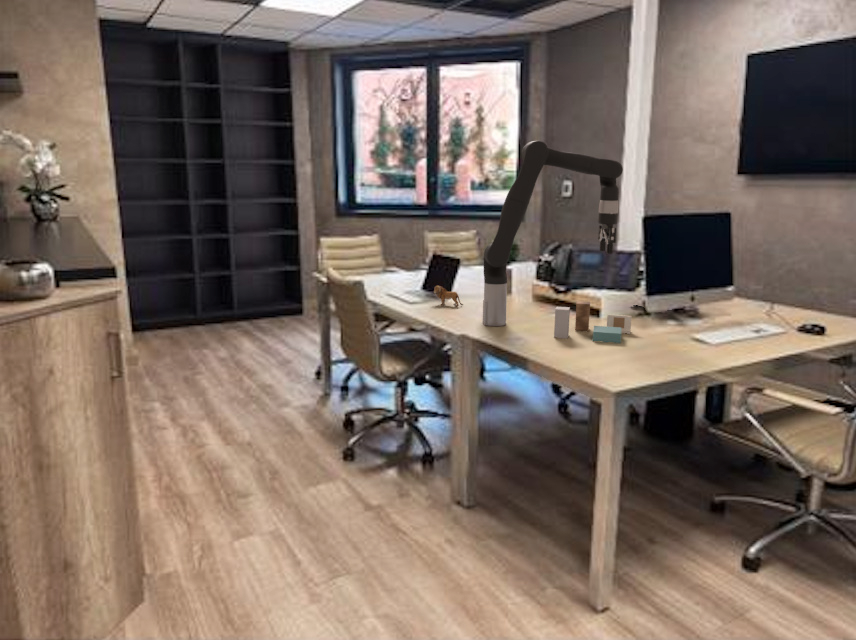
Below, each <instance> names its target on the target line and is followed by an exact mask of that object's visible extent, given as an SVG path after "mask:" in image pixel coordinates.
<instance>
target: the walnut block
mask: <svg viewBox="0 0 856 640" xmlns="http://www.w3.org/2000/svg"><path fill="white" fill-rule="evenodd" d="M590 312H591V301H586V300H585V301H581V300H580V301H579V300H577V301H576V305H575V324H574V325H575V327H574V329H575V330H577V331H576V332H586V331H588V332H589V330H588V329H590V328H589V327H590ZM575 330H574V331H575Z"/></svg>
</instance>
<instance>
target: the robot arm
mask: <svg viewBox="0 0 856 640" xmlns="http://www.w3.org/2000/svg"><path fill="white" fill-rule="evenodd" d="M521 157H522V160H523V162H522V165H521V168H520V170H519V173H518V175H517V177H516V179H515V180H514V182H513V184H512V185H511V187H510V188H509V190H508V193H507V194H506V198H505V200H504V202H503V205H502V208H501V212H500V218H499V224H498V228H497V232H496V234H495V237H494V239H493V241H492V242H491V243H489V244H488V245H486V247H485V248H484V250H483V251H484V252H483V283H484V284H483V286H484V287H483V300H482V323H483V325H484V326H490V327H502V326H505V325H507V299H508V298H507V297H508V294H507V293H508V274H507V263H508V261H509V259H510V257H511V256H510V255H511V252H512V248H513V244H514V241H515V238H516V235H517V232H518V230H519V229H520V226H521V224H522V222H523V219H524V216H525V214H526V212H527V209H528V207H529V204H530V201H531V199H532V196H533V193H534V190H535V188H536V187H535V186H536V183H537V180H538V177H539V175H540V174H541V172H542V169H543V167H544V166H549V167H550V166H552V167H554V168H555V167H556V168H561V169H565V170H569V171H571V172H572V171H573V172H575V173H579V174H580V173H581V174H585V175H589V176H590V175H593V176H599V184H600V195H599V196H600V198H599V205H598V216H597V217H598V220H597V223H598V224H599V225H598V232H597V233H598V234H597V235H598V236H597V240H598V241H599V251H600V252H605V251H606V254H607V255H611V254H613V251H614V244H616V243H617V242H616V241H617V228H616V227H614V225H617V224H618V221H619V220H618V218H619V196H620V195H619V192H620V191H619V190H620V189H619V186H618V185H617V179H618V178H619V177H621V175H622V174H623V170H624V169H623V168H624V167H623V165H622V164H621V163H620V162H619V161H617V160H613V159H607V158H599V157H596V156H592V155H588V154H587V155H586V154H583V153H577V152H569V151H562V150H557V149H554V148H550V147H548V146H547V144H546V142H544V141H541V140H533V141H528V142H527V143H526V144H525V145H524V146H523V148H522V149H521Z"/></svg>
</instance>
